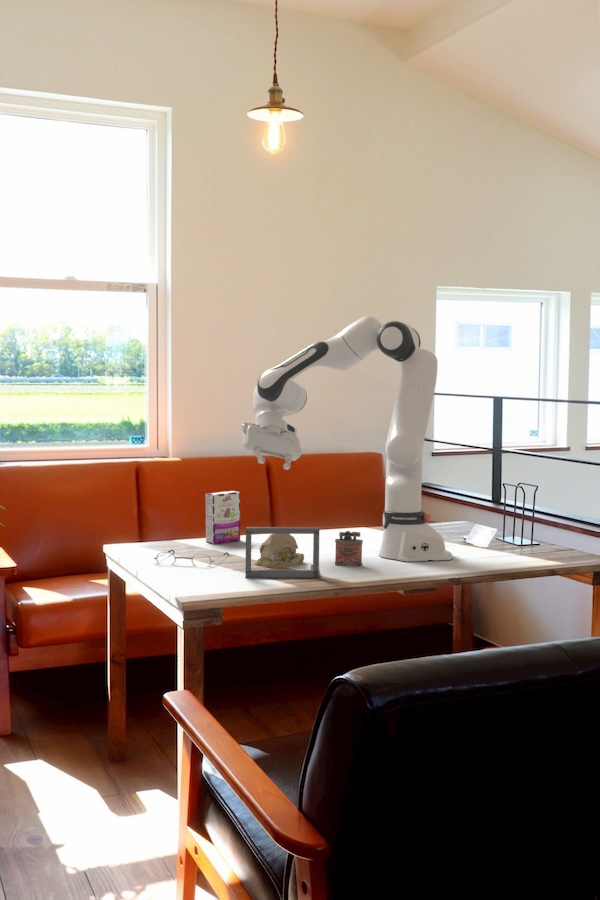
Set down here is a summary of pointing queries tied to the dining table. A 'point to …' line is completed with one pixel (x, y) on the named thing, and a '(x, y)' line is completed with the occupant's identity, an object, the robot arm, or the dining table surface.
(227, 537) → the candy bar box
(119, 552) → the dining table surface
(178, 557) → the eyeglasses
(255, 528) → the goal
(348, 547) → the lighter
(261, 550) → the ceramic model
